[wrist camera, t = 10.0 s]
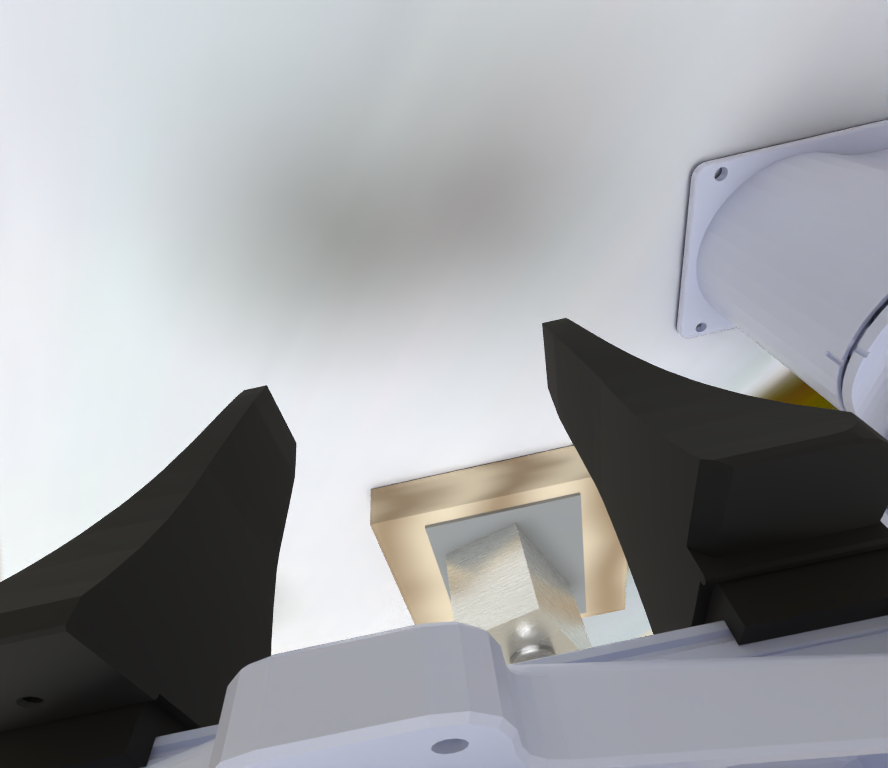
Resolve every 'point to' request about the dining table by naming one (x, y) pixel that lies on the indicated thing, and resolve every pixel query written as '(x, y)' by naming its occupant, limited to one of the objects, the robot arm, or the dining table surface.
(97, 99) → the dining table surface
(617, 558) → the stand
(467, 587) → the housing
